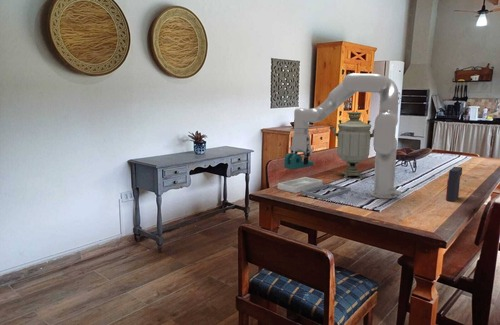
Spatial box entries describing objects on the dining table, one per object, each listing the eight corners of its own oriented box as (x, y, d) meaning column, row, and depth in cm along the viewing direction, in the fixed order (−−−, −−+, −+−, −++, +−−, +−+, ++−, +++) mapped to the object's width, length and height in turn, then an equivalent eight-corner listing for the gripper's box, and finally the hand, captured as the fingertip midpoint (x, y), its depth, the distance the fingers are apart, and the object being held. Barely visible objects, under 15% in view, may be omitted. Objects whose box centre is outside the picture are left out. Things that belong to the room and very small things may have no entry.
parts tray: (322, 185, 205) (322, 180, 205) (294, 193, 190) (294, 187, 190) (305, 181, 215) (305, 176, 214) (277, 188, 199) (277, 183, 199)
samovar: (381, 173, 235) (384, 111, 228) (374, 182, 212) (377, 113, 205) (335, 169, 248) (337, 111, 241) (324, 177, 226) (326, 112, 218)
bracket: (293, 169, 192) (293, 155, 191) (284, 167, 197) (284, 153, 196) (315, 165, 203) (316, 151, 202) (306, 163, 208) (307, 150, 207)
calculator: (450, 195, 181) (452, 166, 178) (459, 197, 178) (462, 167, 175) (445, 200, 172) (447, 169, 170) (455, 202, 170) (458, 170, 167)
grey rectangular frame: (350, 191, 192) (350, 188, 192) (324, 199, 178) (324, 196, 177) (328, 186, 203) (328, 183, 203) (301, 193, 188) (301, 190, 188)
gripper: (318, 131, 193) (317, 164, 196) (293, 129, 206) (293, 160, 209) (309, 132, 188) (308, 166, 191) (284, 130, 201) (284, 162, 204)
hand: (300, 163), depth 200 cm, fingers closed on bracket, 7 cm apart
